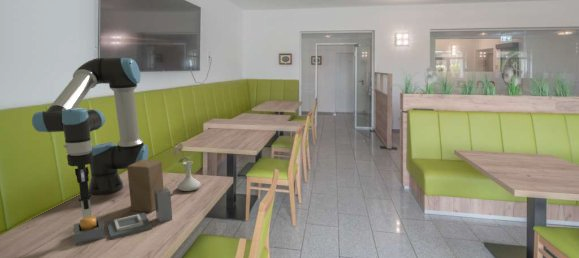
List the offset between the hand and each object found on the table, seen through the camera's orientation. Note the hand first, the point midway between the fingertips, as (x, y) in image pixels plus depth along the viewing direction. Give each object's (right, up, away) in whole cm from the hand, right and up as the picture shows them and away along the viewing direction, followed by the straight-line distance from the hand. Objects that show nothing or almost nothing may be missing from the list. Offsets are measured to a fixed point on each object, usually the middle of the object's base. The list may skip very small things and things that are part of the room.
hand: (87, 216), depth 120 cm
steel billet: (+22, -5, +15) cm, 27 cm away
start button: (0, -4, +1) cm, 4 cm away
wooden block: (+11, -3, +27) cm, 29 cm away
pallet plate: (+11, -6, +9) cm, 15 cm away
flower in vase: (+22, +1, +47) cm, 52 cm away
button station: (0, -8, +2) cm, 8 cm away
